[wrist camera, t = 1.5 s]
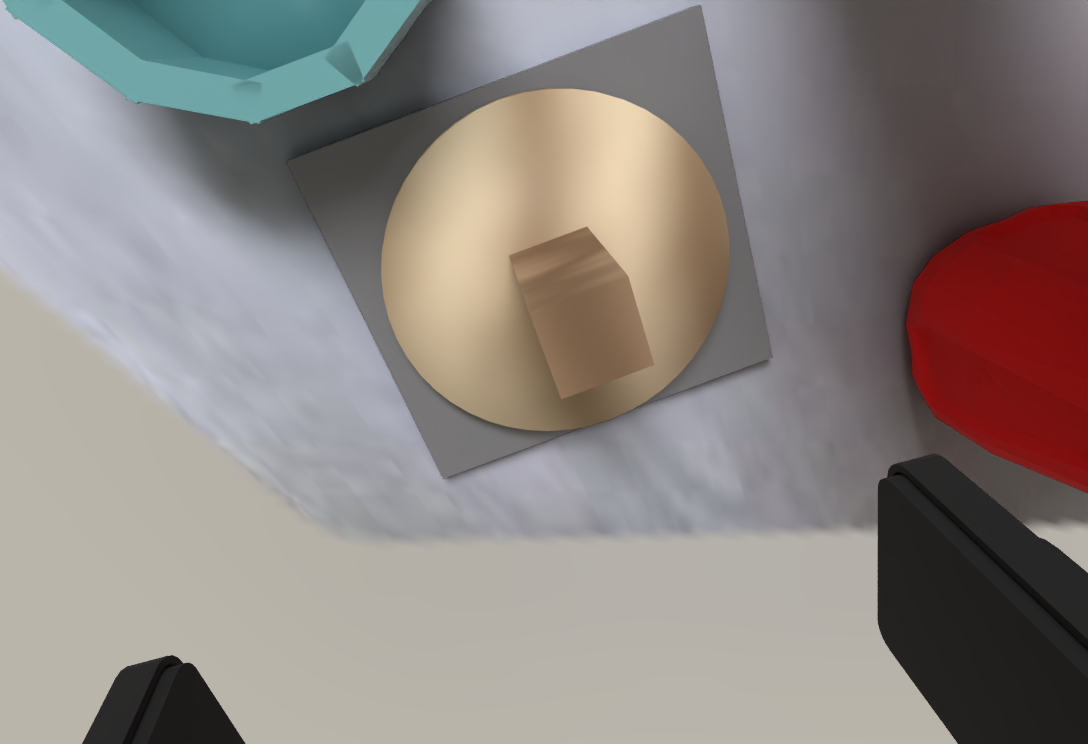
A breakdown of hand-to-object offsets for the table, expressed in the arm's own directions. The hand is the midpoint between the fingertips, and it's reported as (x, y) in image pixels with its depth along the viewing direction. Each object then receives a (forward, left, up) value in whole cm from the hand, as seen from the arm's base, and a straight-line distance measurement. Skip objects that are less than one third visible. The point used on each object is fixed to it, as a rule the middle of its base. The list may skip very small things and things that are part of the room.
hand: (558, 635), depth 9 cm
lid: (-3, +1, -19) cm, 19 cm away
